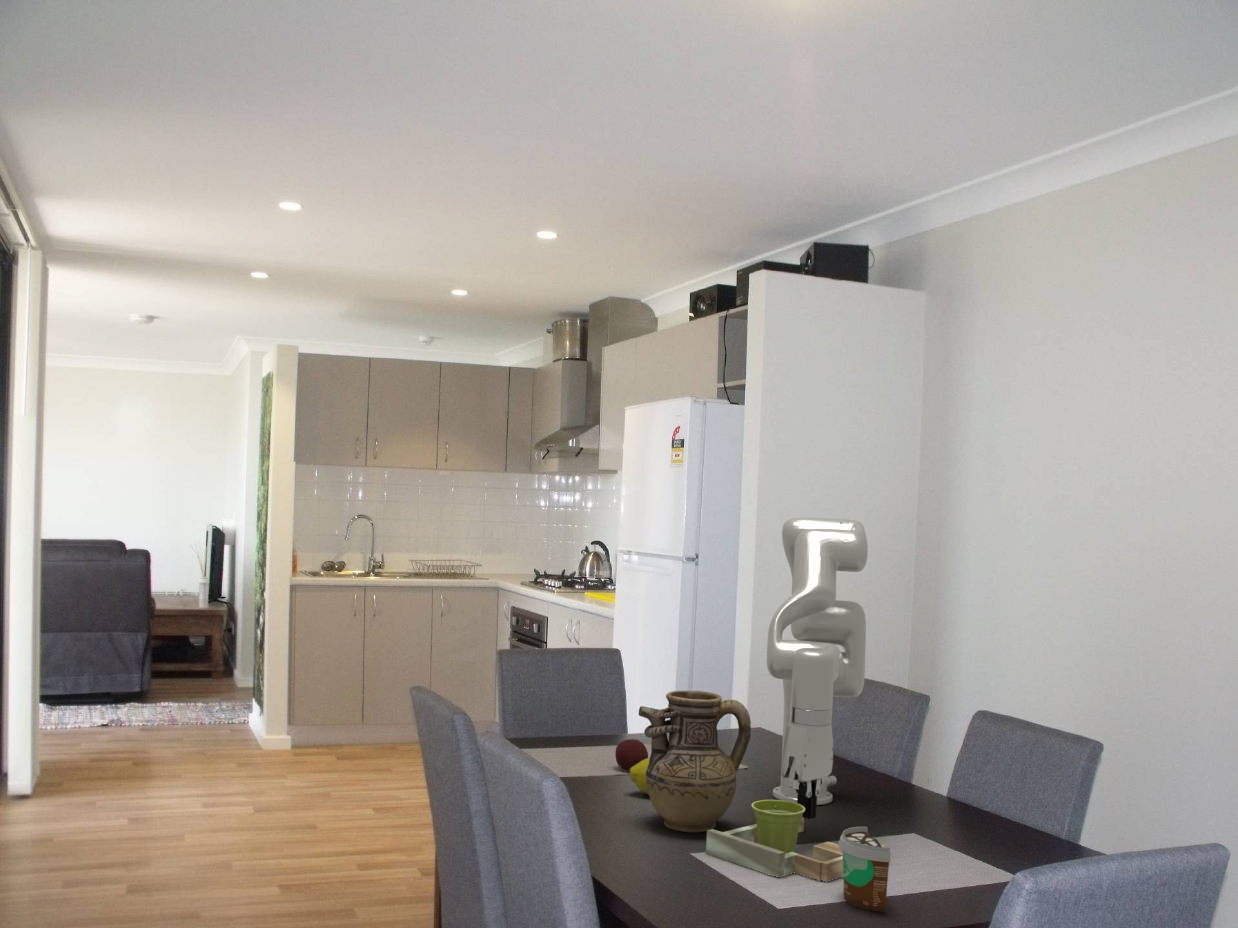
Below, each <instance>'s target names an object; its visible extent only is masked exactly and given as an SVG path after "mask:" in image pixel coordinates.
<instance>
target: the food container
mask: <svg viewBox="0 0 1238 928" xmlns="http://www.w3.org/2000/svg"><path fill="white" fill-rule="evenodd" d="M868 831H869V830H868V826H854V827H849V828H846V829H844V830H843V831H842V833H841V835H840V838H839V842H838V846H839V848H840V849H841V850H842V851H843V877H842V879H843V899H844V901H845V900H846V901H847V902H846V901H845V902H846V903H848V904H849V903H850V904H849V905H851V904H852V906H854V907H856V906H857V908H860V909H863V910H868V911H873V912H874V911H875V912H886V907H887V895H888V894H887V893H888V881H889V867H890V866H889V865H890V863H891V848H890V847H886V846H885V847H882V846H881V845H880V844H881V843H880V842H879V840H878V839H876V838H874V837H872V836H871V835H870V833H868Z"/></svg>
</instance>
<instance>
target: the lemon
mask: <svg viewBox="0 0 1238 928" xmlns="http://www.w3.org/2000/svg"><path fill="white" fill-rule="evenodd" d="M649 760H650V757H648V758H647V759H644V760H642V761H641V762H639V763H638V764H636V765H634V766H633V767H631V768H630V771H629V775H630V777H629V778H630V781H632V782H633V783H634V784H635V786H636V787H637V789H639V790H640V791H641V792H642V793H645V794H647V795H649V793H648V789H647V786H646V770H647V767H648V765H649Z"/></svg>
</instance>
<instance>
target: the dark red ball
mask: <svg viewBox="0 0 1238 928" xmlns="http://www.w3.org/2000/svg"><path fill="white" fill-rule="evenodd" d="M614 753H615V761H616V765H618V766H619V768H621V769H622V770H625V771H628V770H629V771H628V772H630V768H631V767H633V766H634V765H636V764H638V763H639V762H641V761H642V760H644V759H647V758H649V752H648V750H647V748H646V745H645V744H644V743H643V742H642V741H641V740H639V739H634V738H632V739H631V738H630V739H624V740H622V741H621V742H619V743H618V744H617V746H616V748H615V752H614Z"/></svg>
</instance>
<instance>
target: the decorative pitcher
mask: <svg viewBox="0 0 1238 928" xmlns="http://www.w3.org/2000/svg"><path fill="white" fill-rule="evenodd" d="M665 698H666V700H667V702H668V704H667V707H666V708H663V709H662V708H661V709H657V708H654V707H648V706H643V705H641V706H640V707H639V709H638V716H639V717H642V718H645V719H647V720H648V721H649V722H650V725H648V726H647V727H645V729H644V733H643V734H644V735H645V736H646V737H645V738H649V739H650V738H651V742H650V743H651V745H650V746H651V749H650V750H651V751H650V757H649V758H650V760H649V765H648V767H647V770H646V786H647V789H648V793H649V794H648V796H649V797H648V798H649V799H650V802H651V804H652V806H653V808H654V809H655V811H656V812H657V814H658V815H659V816H660V817H662V819H664V821H663V824H664V826H665V827H666V828H667V829H670V830H672V831H677V832H682V833H691V834H692V833H693V834H695V833H704V832H707V830H711V829H715V828H716V821H717V820H718V819H720V818H721V817H722V816H723V815H724V814H725V813H726V812H727V810H729V808H730V806H731V803H732V802H733V799H734V796H735V794H736V789H737V773H738V770H739V767H740V765H741V763H742V761H743V760H744V759H743V758H744V756H745V754H746V752H747V748H748V747H749V746H748V745H749V743H750V739H751V735H752V734H751V733H752V727H751V724H752V721H751V715H750V714H749V711H748V709H747V707H745V705H744V704H743V703H742V702H740V701H739V700H736V699H725V700H723V699H722V698H723V697H722V696H721V695H719V694H717V693H713V692H709V691H701V690H674V691H673V690H672V691H670V692H668V693H666V694H665ZM726 715H732V716H734V717H735V718H736V722H737V726H738V735H737V737H736V740H735V743H734V746H733V748H732V751H731V753H730V755H729V756H728V755H727V754H726V753H725V752H724V751H723V749H722V748H721V747H720V746H719V744H718V743H719V742H718V739H719V738H718V735H719V734H718V724H719V722H720V720H722V718H723V717H724V716H726ZM668 734H669V735H668Z"/></svg>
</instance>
